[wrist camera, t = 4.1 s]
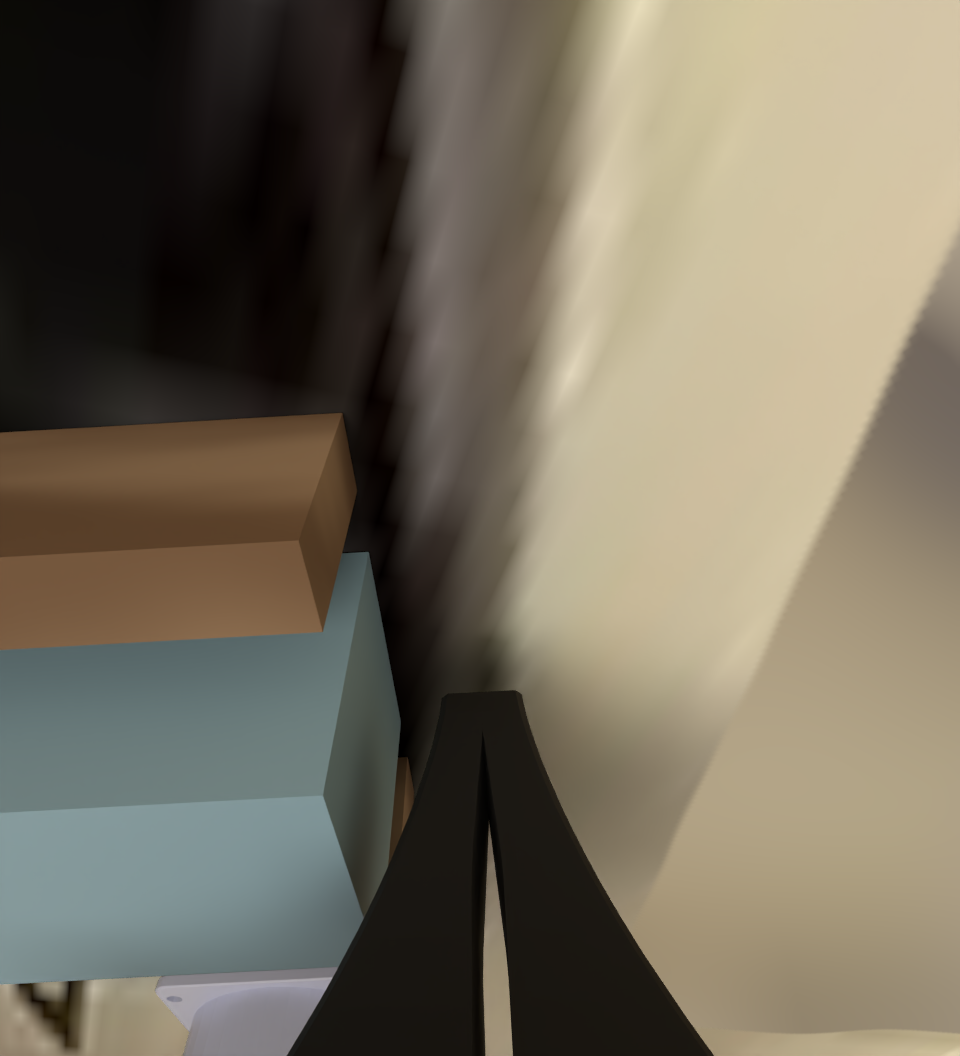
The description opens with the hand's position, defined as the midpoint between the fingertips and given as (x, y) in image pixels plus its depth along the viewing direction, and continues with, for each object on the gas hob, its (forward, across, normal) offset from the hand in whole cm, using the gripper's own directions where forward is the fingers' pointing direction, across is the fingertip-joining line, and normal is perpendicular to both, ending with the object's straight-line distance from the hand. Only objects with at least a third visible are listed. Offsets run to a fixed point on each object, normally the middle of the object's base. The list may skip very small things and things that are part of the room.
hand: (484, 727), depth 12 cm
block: (+2, +6, 0) cm, 6 cm away
